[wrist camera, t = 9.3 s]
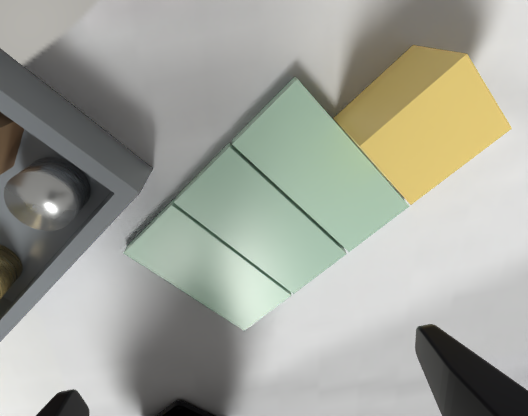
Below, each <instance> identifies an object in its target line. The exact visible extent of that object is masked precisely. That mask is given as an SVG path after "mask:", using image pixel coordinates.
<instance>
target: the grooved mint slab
mask: <svg viewBox="0 0 528 416" xmlns="http://www.w3.org/2000/svg"><path fill="white" fill-rule="evenodd" d="M333 119H334V120H335V121H336V122H337V123H338V124H339V126H340V127H341V128H342V129H343V130H344V131H345V132H346V134H347V135H348V136H349V137H350V138H351V139H352V140H353V142H354V143H355V144H356V145H357V146H358V147H359V148H360V149H361V151H362V152H363V153H364V154H365V155H366V156H367V157H368V159H369V160H370V161H371V162H372V163H373V164H374V165H375V167H376V168H377V169H378V170H379V171H380V172H381V173H382V174H383V175H384V176H385V177H386V179H387V180H388V181H389V182H390V183H391V184H392V185H393V186H394V187H395V188H396V189H397V190H398V192H399V193H400V194H401V195H402V196H403V197H404V198H405V199H406V200H407V201H408V202H409V203H410V205H411V204H413V203H414V202H415V201H417V200H418V199H419V198H421V197H422V196H423V195H425V194H426V193H427V192H429V191H430V190H431V189H433V188H434V187H435V186H437V185H438V184H439V183H440V182H442V181H443V180H444V179H446V178H447V177H448V176H450V175H451V174H452V173H454V172H455V171H456V170H458V169H459V168H460V167H462V166H463V165H464V164H466V163H467V162H468V161H470V160H471V159H472V158H474V157H475V156H476V155H477V154H479V153H480V152H481V151H483V150H484V149H485V148H487V147H488V146H489V145H491V144H492V143H493V142H495V141H496V140H497V139H499V138H500V137H501V136H503V135H504V134H505V133H507V132H508V131H509V130H511V129H512V128H511V126H510V124H509V123H508V121H507V119H506V118H505V116H504V114H503V113H502V111H501V109H500V108H499V106H498V104H497V103H496V101H495V99H494V98H493V96H492V94H491V93H490V91H489V89H488V88H487V86H486V84H485V83H484V81H483V79H482V78H481V76H480V74H479V73H478V71H477V69H476V68H475V66H474V64H473V63H472V61H471V59H470V58H469V56H468V54H466V53H460V52H453V51H447V50H441V49H435V48H428V47H422V46H416V45H412V46H411V47H410V48H409V49H408V50H407V51H406V52H405V53H404V54H403V55H402V56H400V57H399V58H398V59H397V60H396V61H395V62H394V63H393V64H392V65H391V66H390V67H388V68H387V69H386V70H385V71H384V72H383V73H382V74H381V75H380V76H379V77H378V78H377V79H375V80H374V81H373V82H372V83H371V84H370V85H369V86H368V87H367V88H366V89H365V90H363V91H362V92H361V93H360V94H359V95H358V96H357V97H356V98H355V99H354V100H353V101H352V102H350V103H349V104H348V105H347V106H346V107H345V108H344V109H343V110H342V111H341V112H340V113H339V114H337V115H336V116H335V117H334V118H333ZM333 119H332V118H331V117H330V115H329V114H328V113H327V112H326V111H325V110H324V109H323V107H322V106H321V105H320V104H319V103H318V102H317V101H316V100H315V98H314V97H313V96H312V95H311V94H310V93H309V92H308V90H307V89H306V88H305V87H304V86H303V85H302V84H301V82H300V81H299V80H298V79H297V78H296V77H294V78H293V79H292V80H291V81H290V82H289V83H288V84H287V85H286V86H285V87H284V88H283V89H282V90H281V91H280V92H279V93H278V94H277V95H276V96H275V97H274V98H273V99H272V100H271V101H270V102H269V103H268V104H267V105H266V106H265V107H264V108H263V109H262V110H261V111H260V112H259V113H258V114H257V115H256V116H255V117H254V118H253V119H252V120H251V121H250V122H249V123H248V124H247V125H246V126H245V127H244V128H243V129H242V130H241V131H240V132H239V133H238V134H237V135H236V136H235V137H234V139H233V140H232V144H231V143H229V144H228V145H227V146H226V147H225V148H224V149H223V150H222V151H221V152H220V153H219V154H218V155H217V156H216V157H215V158H214V159H213V160H212V161H211V162H210V163H209V164H208V165H207V166H206V167H205V168H204V169H203V170H202V171H201V172H200V173H199V174H198V175H197V176H196V177H195V178H194V179H193V180H192V181H191V182H190V183H189V184H188V185H187V186H186V187H185V188H184V189H183V190H182V191H181V192H180V193H179V194H178V195H177V196H176V198H175V200H174V199H173V200H172V201H171V202H170V203H169V204H168V205H167V206H166V207H165V208H164V209H163V210H162V211H161V212H160V213H159V214H158V215H157V216H156V217H155V218H154V219H153V220H152V221H151V222H150V223H149V224H148V225H147V226H146V227H145V229H144V230H143V231H142V232H141V233H140V234H139V235H138V236H137V237H136V238H135V239H134V240H133V241H132V242H131V243H130V244H129V245H128V246H127V247H126V249H125V251H124V254H125V255H127V256H129V257H130V258H132V259H133V260H135V261H136V262H138V263H139V264H141V265H142V266H144V267H146V268H147V269H149V270H150V271H152V272H153V273H155V274H156V275H158V276H160V277H161V278H163V279H164V280H166V281H167V282H169V283H170V284H172V285H174V286H175V287H177V288H178V289H180V290H181V291H183V292H184V293H186V294H188V295H189V296H191V297H192V298H194V299H195V300H197V301H198V302H200V303H202V304H203V305H205V306H206V307H208V308H209V309H211V310H212V311H214V312H215V313H217V314H219V315H220V316H222V317H223V318H225V319H226V320H228V321H229V322H231V323H233V324H234V325H236V326H237V327H239V328H240V329H242V330H243V331H245V330H247V329H248V328H249V327H251V326H252V325H253V324H255V323H256V322H257V321H258V320H260V319H261V318H262V317H264V316H265V315H266V314H268V313H269V312H270V311H272V310H273V309H274V308H276V307H277V306H278V305H280V304H281V303H282V302H284V301H285V300H286V299H288V298H289V297H290V296H291V292H292V293H293V294H294V293H296V292H297V291H298V290H299V289H301V288H302V287H303V286H305V285H306V284H307V283H309V282H310V281H311V280H313V279H314V278H315V277H317V276H318V275H319V274H321V273H322V272H323V271H325V270H326V269H327V268H329V267H330V266H331V265H333V264H334V263H335V262H336V261H338V260H339V259H340V258H342V257H343V256H344V255H346V252H345V249H346V250H348V251H349V252H350V251H351V250H352V249H354V248H355V247H356V246H358V245H359V244H360V243H362V242H363V241H364V240H366V239H367V238H368V237H370V236H371V235H372V234H374V233H375V232H376V231H377V230H379V229H380V228H381V227H383V226H384V225H385V224H387V223H388V222H389V221H391V220H392V219H393V218H395V217H396V216H397V215H399V214H400V213H401V212H403V211H404V210H405V209H407V208H408V207H409V205H408V204H407V203H406V202H405V201H404V200H403V198H402V197H401V196H400V195H399V194H398V193H397V192H396V191H395V189H394V188H393V187H392V186H391V185H390V184H389V183H388V181H387V180H386V179H385V178H384V177H383V176H382V175H381V173H380V172H379V171H378V170H377V169H376V168H375V167H374V165H373V164H372V163H371V162H370V161H369V160H368V159H367V158H366V156H365V155H364V154H363V153H362V152H361V151H360V150H359V148H358V147H357V146H356V145H355V144H354V143H353V142H352V140H351V139H350V138H349V137H348V136H347V135H346V134H345V133H344V131H343V130H342V129H341V128H340V127H339V126H338V125H337V123H336V122H335V121H334V120H333ZM233 145H234V146H235V147H236V148H237V149H236V148H235V147H234V146H233ZM246 157H247V158H248V159H249V160H248V159H247V158H246ZM259 169H260V170H261V171H262V172H261V171H260V170H259ZM271 180H272V181H273V182H274V183H275V184H274V183H273V182H272V181H271ZM284 192H285V193H286V194H287V195H286V194H285V193H284ZM297 204H298V205H299V206H300V207H299V206H298V205H297ZM309 215H310V216H311V217H312V218H313V219H312V218H311V217H310V216H309ZM322 227H323V228H324V229H325V230H324V229H323V228H322ZM335 239H336V240H337V241H338V242H337V241H336V240H335ZM344 248H345V249H344Z"/></svg>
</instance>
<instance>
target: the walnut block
mask: <svg viewBox="0 0 528 416" xmlns="http://www.w3.org/2000/svg"><path fill="white" fill-rule="evenodd" d="M23 132H24V128H22V127H21V126H20V125H18V124H17V123H15V122H14V121H13V120H11V119H10V118H8V117H7V116H6V115H4V114H3V113H1V112H0V175H1V174H3V173H4V172H6V171H7V170H9V169H10V168H12V167H13V166H14V164H15V160H16V156H17V153H18V149H19V146H20V142H21V139H22V135H23Z"/></svg>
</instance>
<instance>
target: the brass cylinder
mask: <svg viewBox="0 0 528 416" xmlns="http://www.w3.org/2000/svg"><path fill="white" fill-rule="evenodd" d="M22 270H23V266H22V262H21V260H20V258H19V257H18V256H17V255H16V254H15V253H14V252H13V251H12V250H11V249H9V248H7V247H5V246H3V245H1V244H0V299H1V298H2V297H3V295H4V294H5V293H6V292H7V291H8V289H9V288H10V287H11V286H12V285H13V283H14V282H15V281H16V280H17V279H18V278H19V276H20V275H21V273H22Z"/></svg>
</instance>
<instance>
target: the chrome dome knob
mask: <svg viewBox="0 0 528 416" xmlns="http://www.w3.org/2000/svg"><path fill="white" fill-rule="evenodd" d="M89 197H90V184H89V181H88V179H87V177H86V176H85V174H84V173H83V172H82V171H81V170H80V169H79V168H78V167H77V166H76V165H74V164H73V163H71V162H69V161H67V160H65V159H61V158H57V157H45V158H41V159H38V160H36V161H35V162H33V163H32V164H30V165H29V166H28V167H26V168H25V169H23V170H22V171H21V172H19V173H18V174H16V175H15V176H14V177H12V178H11V179H10V180H9V181H8V182H7V184H6V185H5V188H4V200H5V204H6V206H7V208H8V209H9V211H10V212H11V213H12V215H13V216H14V217H15V218H17V219H18V220H19V221H20V222H22V223H23V224H25V225H27V226H29V227H32V228H35V229H38V230H44V231H54V230H59V229H62V228H64V227H65V226H67V225H68V224H69V223H70V222H71V221H72V220H73V219H74V217H75V216H76V215H77V214H78V213H79V211H80V210H81V209H82V208H83V206H84V205H85V204H86V203H87V201H88V199H89Z"/></svg>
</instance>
